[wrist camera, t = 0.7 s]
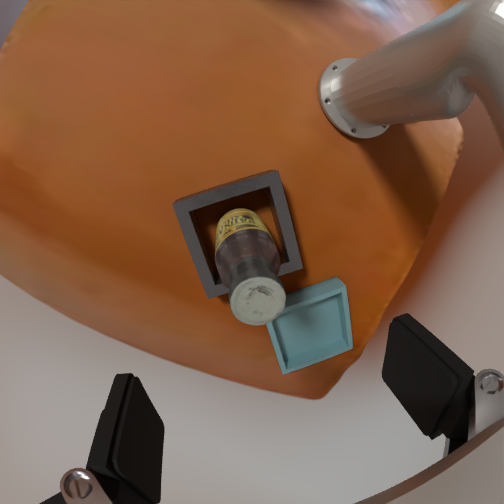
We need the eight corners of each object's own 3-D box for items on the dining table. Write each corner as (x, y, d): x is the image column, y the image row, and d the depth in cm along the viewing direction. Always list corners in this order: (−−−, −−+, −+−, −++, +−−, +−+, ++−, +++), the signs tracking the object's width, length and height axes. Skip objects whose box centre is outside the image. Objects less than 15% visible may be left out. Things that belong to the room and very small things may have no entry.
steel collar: (271, 169, 36) (278, 170, 32) (294, 258, 40) (303, 268, 36) (176, 199, 35) (172, 204, 32) (208, 286, 40) (208, 298, 36)
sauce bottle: (244, 196, 37) (278, 234, 18) (270, 233, 39) (324, 300, 20) (204, 226, 37) (197, 293, 18) (232, 261, 39) (252, 350, 20)
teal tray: (336, 276, 42) (345, 285, 39) (345, 337, 46) (353, 348, 43) (259, 303, 42) (263, 314, 38) (278, 361, 46) (282, 374, 43)
